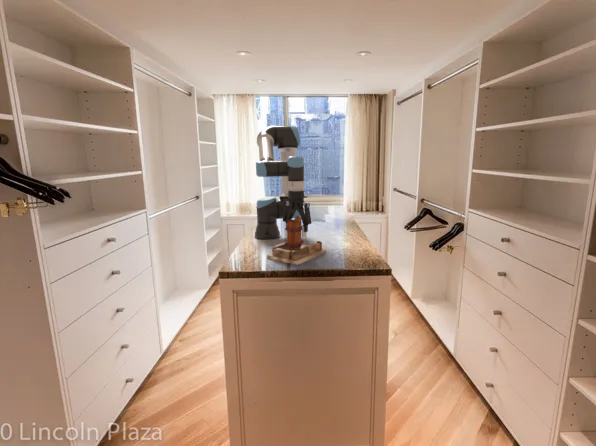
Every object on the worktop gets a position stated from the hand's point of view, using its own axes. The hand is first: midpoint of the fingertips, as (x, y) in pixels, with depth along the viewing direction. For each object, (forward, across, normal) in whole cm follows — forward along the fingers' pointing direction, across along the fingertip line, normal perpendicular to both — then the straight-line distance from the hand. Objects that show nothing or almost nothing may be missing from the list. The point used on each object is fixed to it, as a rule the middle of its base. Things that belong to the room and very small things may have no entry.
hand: (297, 237), depth 156 cm
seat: (+9, 0, 0) cm, 9 cm away
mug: (+6, -1, 0) cm, 6 cm away
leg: (+7, +6, +6) cm, 11 cm away
